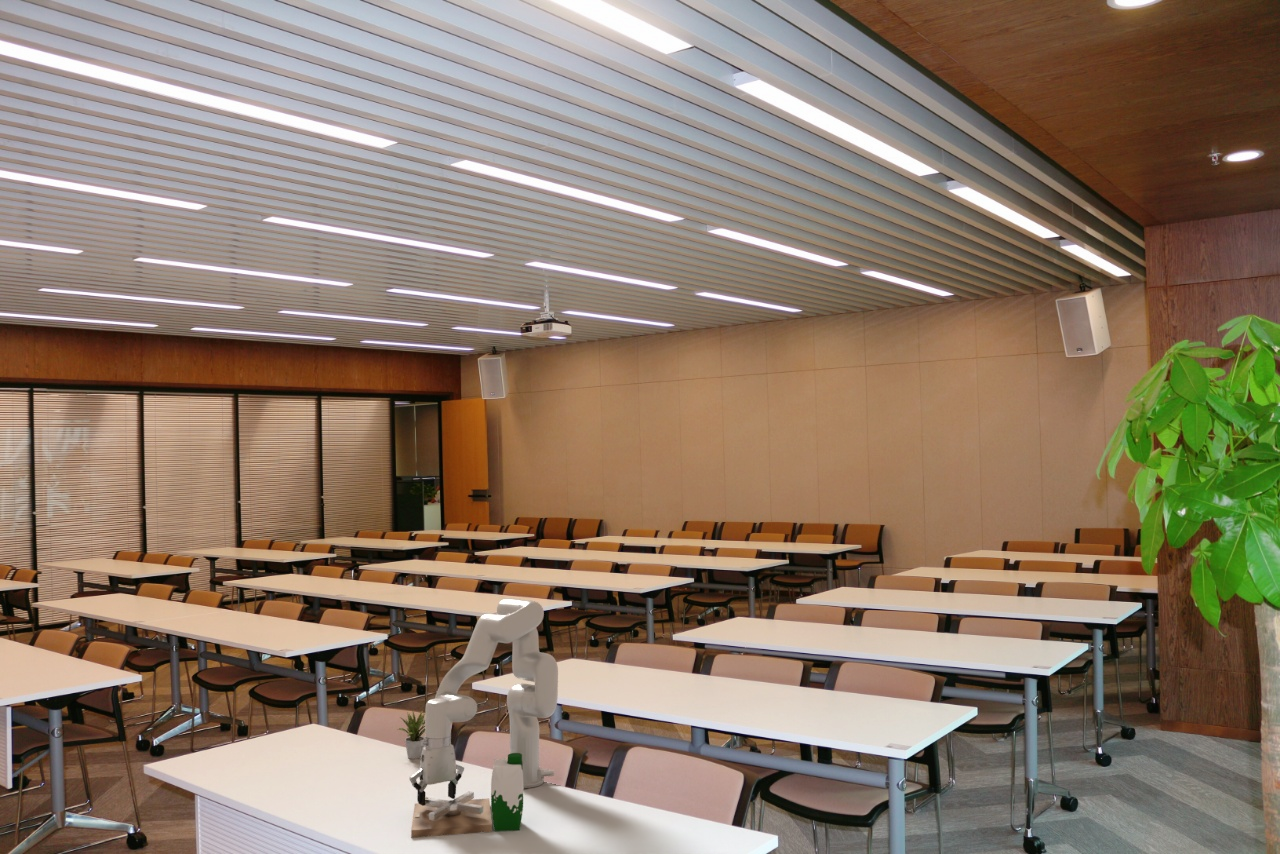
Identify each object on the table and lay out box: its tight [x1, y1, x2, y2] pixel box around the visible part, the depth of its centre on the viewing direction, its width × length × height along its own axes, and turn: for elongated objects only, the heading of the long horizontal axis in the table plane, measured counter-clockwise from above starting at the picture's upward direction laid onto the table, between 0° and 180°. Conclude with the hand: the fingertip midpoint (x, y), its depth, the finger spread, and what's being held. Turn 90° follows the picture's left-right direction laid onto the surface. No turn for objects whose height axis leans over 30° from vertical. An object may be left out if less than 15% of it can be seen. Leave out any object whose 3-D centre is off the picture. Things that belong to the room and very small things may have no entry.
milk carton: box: [490, 753, 524, 832], centre depth 272 cm, size 9×9×20 cm
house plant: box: [397, 709, 426, 760], centre depth 339 cm, size 14×14×16 cm
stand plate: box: [410, 798, 493, 839], centre depth 276 cm, size 22×22×2 cm
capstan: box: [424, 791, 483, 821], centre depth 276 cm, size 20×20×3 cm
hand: (436, 801), depth 282 cm, fingers open, 9 cm apart
